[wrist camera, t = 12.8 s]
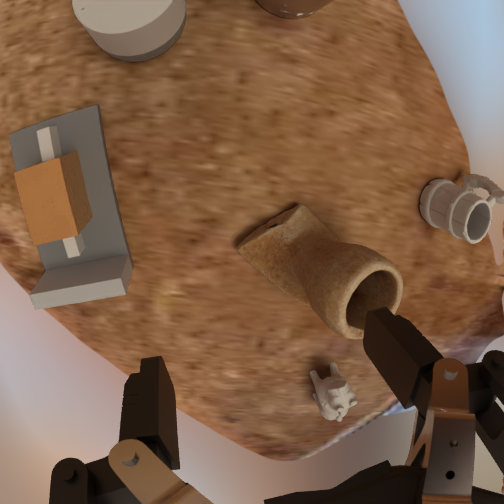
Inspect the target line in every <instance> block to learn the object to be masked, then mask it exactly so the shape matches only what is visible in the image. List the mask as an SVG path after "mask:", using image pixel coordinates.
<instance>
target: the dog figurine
mask: <svg viewBox="0 0 504 504" xmlns="http://www.w3.org/2000/svg"><path fill="white" fill-rule="evenodd" d="M330 371H331V376H332V377H326V378H325V379H324V380H322V379H320V378H319V376H318V374H317V372H316V371H315V370H313V371H310V376H311V378H312V381H313V383H314V386H315V390H316V393H313V394H312V396H313V397H314V399H315V401H316V403H317V405H318V407H319V410H320V412H321V414H322V416H323V417H324V418H326V419H328V420H334V419H336V420H337V421H338V422H340V421H342V417H343V416H345V415H346V413H347V411H348V408H350V407H352V406H354V405H356V404H357V399H356V397H355V394H354V392H353V390H352V389H351V388H350V387H349V385H348V382H347V381H346V379H345V378H344V377H342V376H341V375H340V373H339V370H338V368H337V365H336V363H331V364H330Z"/></svg>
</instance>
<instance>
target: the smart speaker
mask: <svg viewBox="0 0 504 504" xmlns="http://www.w3.org/2000/svg"><path fill="white" fill-rule="evenodd" d="M72 4H73V10H74V13H75V15H76V17H77V18H78V20H79V21H80V23H81V24H82V25H83V27H84V28H85V29H86V30H87V32H88V33H89V34H90V36H91V37H92V38H93V40H94V41H95V42H96V43H97V45H98V46H99V47H100V48H101V49H102V50H103V51H105V52H106V53H107V54H109V55H110V56H112V57H114V58H116V59H119V60H122V61H128V62H139V61H146V60H149V59H152V58H155V57H157V56H159V55H161V54H162V53H164V52H165V51H167V50H168V49H169V48H170V47H171V46H172V45H173V44H174V43H175V42H176V41H177V39H178V38H179V36H180V35H181V33H182V31H183V28H184V25H185V20H186V4H185V0H72Z"/></svg>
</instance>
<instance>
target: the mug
mask: <svg viewBox="0 0 504 504" xmlns="http://www.w3.org/2000/svg"><path fill="white" fill-rule="evenodd" d="M462 180H463V184H462V187H461V188H460V187H458V186H456V185H455V184H454V183H453V182H452V181H450V180H447V179H435V180H433V181H431V182H429V185H428V186H426V187H425V188H424V190H423V192H422V194H421V197H420V203H421V204H420V212H421V215H422V217H423V218H424V219H425V220H426V221H427V222H428V223H429V224H430V225H431V226H433V227H435V228H442V229H444V230H446V231H448V232H449V233H450V234H451V235H452V236H454V237H456V238H462V239H464V240H466V241H467V242H469V243H477V242H479V241H481V240H482V238H483V237H484V236H485V235H486V233H487V232H488V229H489V227H490V224H491V218H492V209H491V207H493V205H494V204H495V203H500V204H504V191H503V190H502V189H501V188H499V187H498V186H497V185H496V184H495V183H494V182H493V181H491V180H489V178H487V177H484V176H480V175H477V174H470V175H464V176H463V177H462ZM479 187H481V188H483V189H486V190H487V191H488V192H489V194H490V196H489V197H488V198H487V199H486V200H485V199H483V198H481V197H479V196H477V195H476V194H475V193H474V192H473V191H471V188H472V189H475V188H479Z"/></svg>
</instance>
